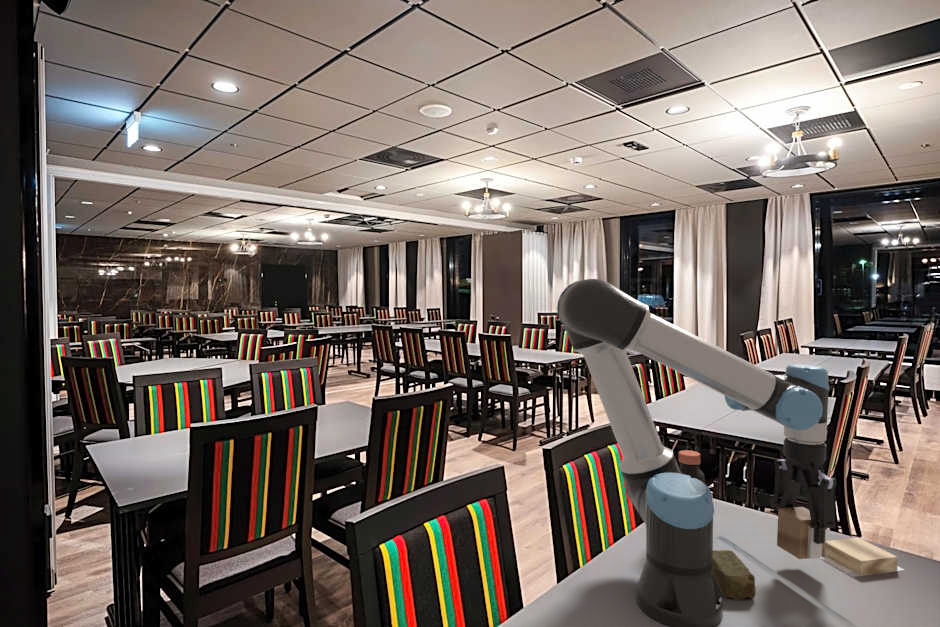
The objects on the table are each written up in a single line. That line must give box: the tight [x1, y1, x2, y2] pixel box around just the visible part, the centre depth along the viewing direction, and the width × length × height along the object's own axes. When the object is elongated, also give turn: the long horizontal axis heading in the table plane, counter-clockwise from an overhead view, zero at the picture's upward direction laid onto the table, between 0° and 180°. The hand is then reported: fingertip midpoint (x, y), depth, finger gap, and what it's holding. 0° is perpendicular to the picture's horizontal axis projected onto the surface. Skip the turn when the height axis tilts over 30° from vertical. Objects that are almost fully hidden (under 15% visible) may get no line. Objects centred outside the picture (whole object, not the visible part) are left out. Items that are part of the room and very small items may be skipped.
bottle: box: [678, 449, 705, 484], centre depth 130 cm, size 7×7×20 cm
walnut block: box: [776, 506, 827, 560], centre depth 111 cm, size 6×6×8 cm
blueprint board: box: [820, 556, 905, 578], centre depth 114 cm, size 13×9×1 cm
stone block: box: [712, 549, 757, 601], centre depth 108 cm, size 6×12×5 cm, turn 176°
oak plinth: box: [825, 537, 898, 577], centre depth 114 cm, size 9×9×3 cm
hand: (801, 549), depth 111 cm, fingers closed on walnut block, 6 cm apart
